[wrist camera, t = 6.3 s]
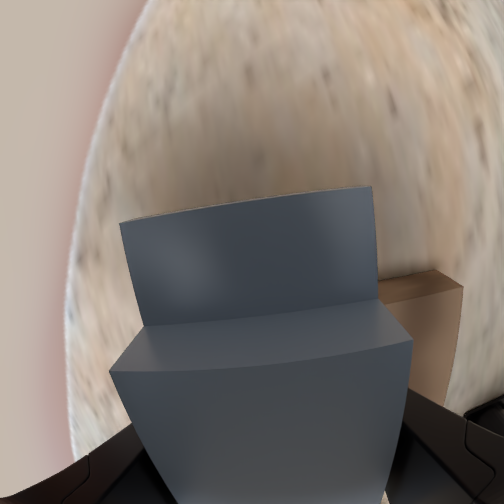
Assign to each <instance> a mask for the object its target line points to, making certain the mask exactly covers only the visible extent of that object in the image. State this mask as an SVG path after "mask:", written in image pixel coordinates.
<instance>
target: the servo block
mask: <svg viewBox="0 0 504 504" xmlns="http://www.w3.org/2000/svg"><path fill="white" fill-rule="evenodd" d="M119 225H120V230H121V235H122V240H123V245H124V249H125V254H126V259H127V263H128V267H129V272H130V276H131V280H132V284H133V288H134V292H135V296H136V299H137V303H138V307H139V311H140V314H141V318H142V321H143V325H144V327H143V328H142V329H141V331H140V332H139V333H138V334H137V336H136V337H135V338H134V339H133V341H132V342H131V343H130V344H129V346H128V347H127V348H126V350H125V351H124V352H123V353H122V355H121V356H120V357H119V358H118V360H117V361H116V362H115V364H114V365H113V366H112V367H111V369H110V370H109V373H110V375H111V377H112V380H113V382H114V385H115V387H116V389H117V392H118V394H119V396H120V398H121V401H122V403H123V405H124V407H125V409H126V412H127V414H128V416H129V418H130V420H131V422H132V424H133V426H134V428H135V430H136V432H137V434H138V436H139V438H140V440H141V442H142V444H143V445H144V447H145V449H146V451H147V453H148V455H149V456H150V458H151V460H152V462H153V463H154V465H155V467H156V469H157V470H158V472H159V474H160V475H161V477H162V479H163V480H164V482H165V484H166V485H167V487H168V488H169V490H170V492H171V493H172V495H173V496H174V498H175V499H176V501H177V502H178V504H380V503H381V500H382V497H383V494H384V491H385V487H386V484H387V481H388V477H389V474H390V470H391V466H392V463H393V459H394V455H395V451H396V447H397V442H398V438H399V433H400V429H401V424H402V419H403V413H404V408H405V402H406V396H407V390H408V383H409V376H410V368H411V360H412V351H413V341H414V339H413V338H412V337H411V336H410V335H409V333H408V332H407V331H406V330H405V329H404V327H403V326H402V325H401V324H400V323H399V322H398V320H397V319H396V318H395V317H394V316H393V315H392V314H391V312H390V311H389V310H388V309H387V308H386V307H385V306H384V304H383V303H382V302H381V301H380V300H379V299H378V267H377V246H376V230H375V218H374V206H373V196H372V187H371V186H352V187H342V188H333V189H324V190H316V191H307V192H299V193H291V194H284V195H276V196H269V197H262V198H255V199H248V200H241V201H234V202H228V203H221V204H215V205H209V206H203V207H197V208H191V209H185V210H179V211H173V212H168V213H162V214H157V215H151V216H146V217H141V218H136V219H131V220H128V221H125V222H122V223H119Z"/></svg>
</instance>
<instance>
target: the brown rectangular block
mask: <svg viewBox="0 0 504 504" xmlns="http://www.w3.org/2000/svg"><path fill="white" fill-rule="evenodd" d="M462 298H463V286H462V285H460V284H459V283H457V282H455V281H454V280H452V279H451V278H449V277H447V276H446V275H444V274H442V273H441V272H439V271H437V270H432V271H427V272H422V273H417V274H412V275H407V276H402V277H397V278H392V279H386V280H381V281H378V299H379V300H380V301H381V302H382V303H383V304H384V306H385V307H386V308H387V309H388V310H389V311H390V312H391V314H392V315H393V316H394V317H395V318H396V319H397V320H398V322H399V323H400V324H401V325H402V326H403V327H404V329H405V330H406V331H407V332H408V333H409V335H410V336H411V337H412V338H413V339H414V341H413V351H412V360H411V368H410V376H409V383H408V388H410V389H412V390H414V391H415V392H417V393H419V394H421V395H423V396H424V397H426V398H428V399H430V400H432V401H433V402H435V403H437V404H439V405H441V406H443V405H444V401H445V397H446V393H447V389H448V385H449V381H450V376H451V371H452V367H453V361H454V356H455V351H456V345H457V339H458V332H459V325H460V317H461V308H462Z"/></svg>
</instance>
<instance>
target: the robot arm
mask: <svg viewBox="0 0 504 504" xmlns="http://www.w3.org/2000/svg"><path fill="white" fill-rule="evenodd" d="M88 455H89V456H88ZM88 455H85V456H84V457H83V458H81V459H80V460H78V461H77V462H75V463H73V464H72V465H70V466H69V467H67V468H65V469H64V470H62V471H60V472H59V473H57V474H55V475H53V476H51V477H49V478H47V479H46V480H43V481H41V482H39V483H37V484H35V485H33V486H31V487H29V488H27V489H25V490H23V491H20V492H18V493H16V494H14V495H11V496H8V497H3V498H0V504H178V502H177V501H176V499H175V498H174V496H173V495H172V493H171V492H170V490H169V488H168V487H167V485H166V484H165V482H164V480H163V479H162V477H161V475H160V474H159V472H158V470H157V469H156V467H155V465H154V463H153V462H152V460H151V458H150V456H149V455H148V453H147V451H146V449H145V447H144V445H143V444H142V442H141V440H140V438H139V436H138V434H137V432H136V430H135V428H134V426H133V424H132V423H131V424H130V425H128V426H127V427H125V428H124V429H123V430H121V431H120V432H119V433H117V434H116V435H114V436H113V437H112V438H110V439H109V440H107V441H106V442H104V443H103V444H102V445H100V446H99V447H97V448H96V449H94V450H93V451H91V452H90V453H89V454H88ZM385 492H386V495H387V497H388V500H389V503H390V504H504V395H503V396H501V397H499V398H497V399H495V400H493V401H491V402H489V403H487V404H485V405H483V406H480V407H478V408H476V409H474V410H472V411H469V412H468V413H466V414H465V416H464V418H463V417H461V416H459V415H457V414H455V413H454V412H452V411H450V410H448V409H446V408H444V407H443V406H441V405H439V404H437V403H435V402H433V401H432V400H430V399H428V398H426V397H424V396H423V395H421V394H419V393H417V392H415V391H414V390H412V389H410V388H408V390H407V396H406V402H405V408H404V413H403V419H402V424H401V429H400V433H399V438H398V442H397V447H396V451H395V455H394V459H393V463H392V466H391V470H390V474H389V477H388V481H387V484H386V487H385Z"/></svg>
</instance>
